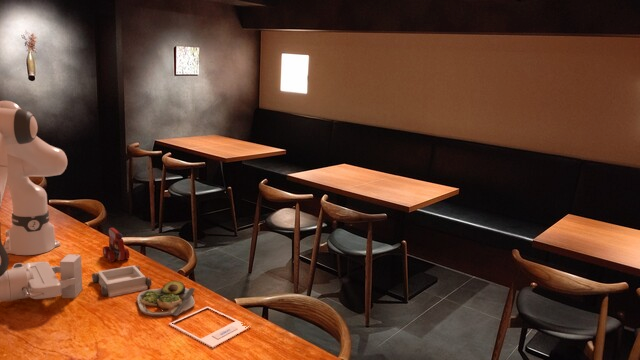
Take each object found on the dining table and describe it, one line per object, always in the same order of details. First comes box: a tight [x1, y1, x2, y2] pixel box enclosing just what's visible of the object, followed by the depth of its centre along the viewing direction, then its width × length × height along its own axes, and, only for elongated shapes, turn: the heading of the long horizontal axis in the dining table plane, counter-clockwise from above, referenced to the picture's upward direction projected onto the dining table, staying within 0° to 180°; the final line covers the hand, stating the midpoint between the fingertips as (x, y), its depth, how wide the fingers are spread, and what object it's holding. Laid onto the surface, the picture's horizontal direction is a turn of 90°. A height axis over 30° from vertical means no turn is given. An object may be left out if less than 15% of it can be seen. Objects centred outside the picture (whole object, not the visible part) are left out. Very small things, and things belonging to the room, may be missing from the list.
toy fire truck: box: [102, 227, 130, 263], centre depth 186 cm, size 7×12×10 cm, turn 40°
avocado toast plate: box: [136, 280, 196, 317], centre depth 155 cm, size 19×18×5 cm
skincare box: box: [59, 253, 83, 299], centre depth 156 cm, size 6×4×12 cm
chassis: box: [91, 264, 152, 298], centre depth 166 cm, size 15×15×4 cm
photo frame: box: [168, 306, 252, 349], centre depth 145 cm, size 15×1×18 cm
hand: (71, 274), depth 156 cm, fingers open, 8 cm apart
